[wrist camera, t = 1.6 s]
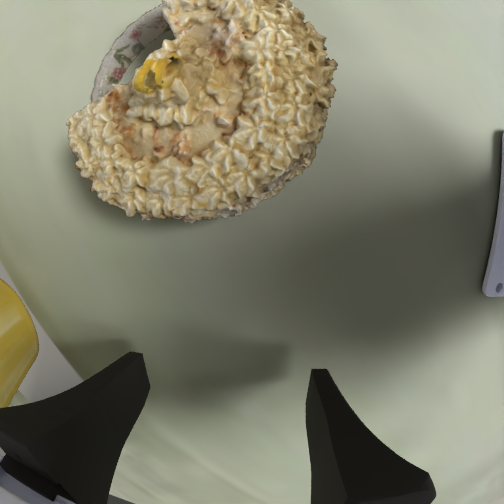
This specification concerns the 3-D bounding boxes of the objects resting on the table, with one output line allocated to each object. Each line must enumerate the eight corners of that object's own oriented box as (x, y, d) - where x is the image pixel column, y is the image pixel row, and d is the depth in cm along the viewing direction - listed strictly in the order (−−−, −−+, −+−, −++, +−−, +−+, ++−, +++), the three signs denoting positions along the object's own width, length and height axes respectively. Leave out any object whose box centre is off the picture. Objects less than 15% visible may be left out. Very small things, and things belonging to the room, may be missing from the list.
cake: (368, 60, 10) (432, 21, 5) (253, 259, 13) (248, 334, 8) (162, -27, 8) (117, -87, 3) (65, 162, 12) (-17, 184, 7)
